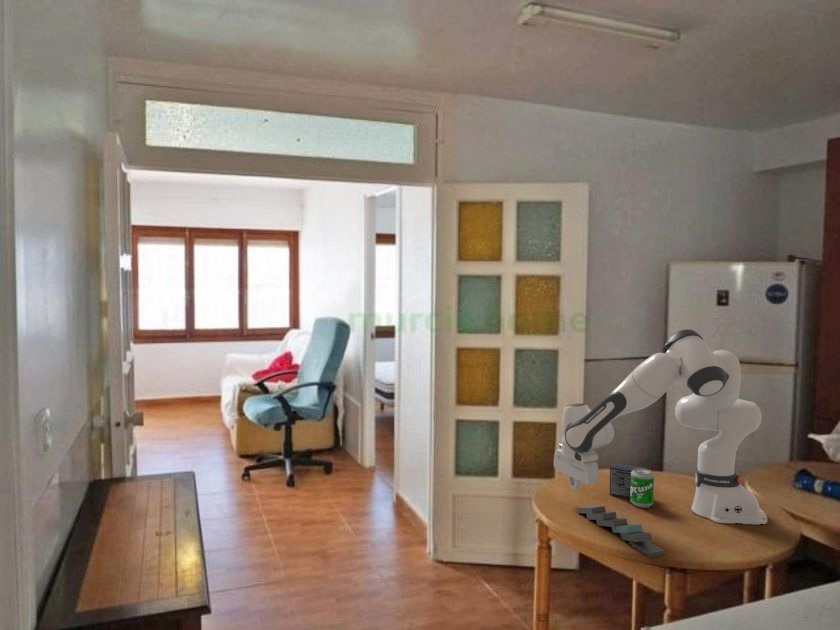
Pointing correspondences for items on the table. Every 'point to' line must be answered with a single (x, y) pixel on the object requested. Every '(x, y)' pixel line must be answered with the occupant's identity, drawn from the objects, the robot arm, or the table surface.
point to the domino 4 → (627, 528)
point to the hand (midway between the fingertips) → (574, 489)
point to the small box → (621, 480)
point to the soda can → (642, 487)
